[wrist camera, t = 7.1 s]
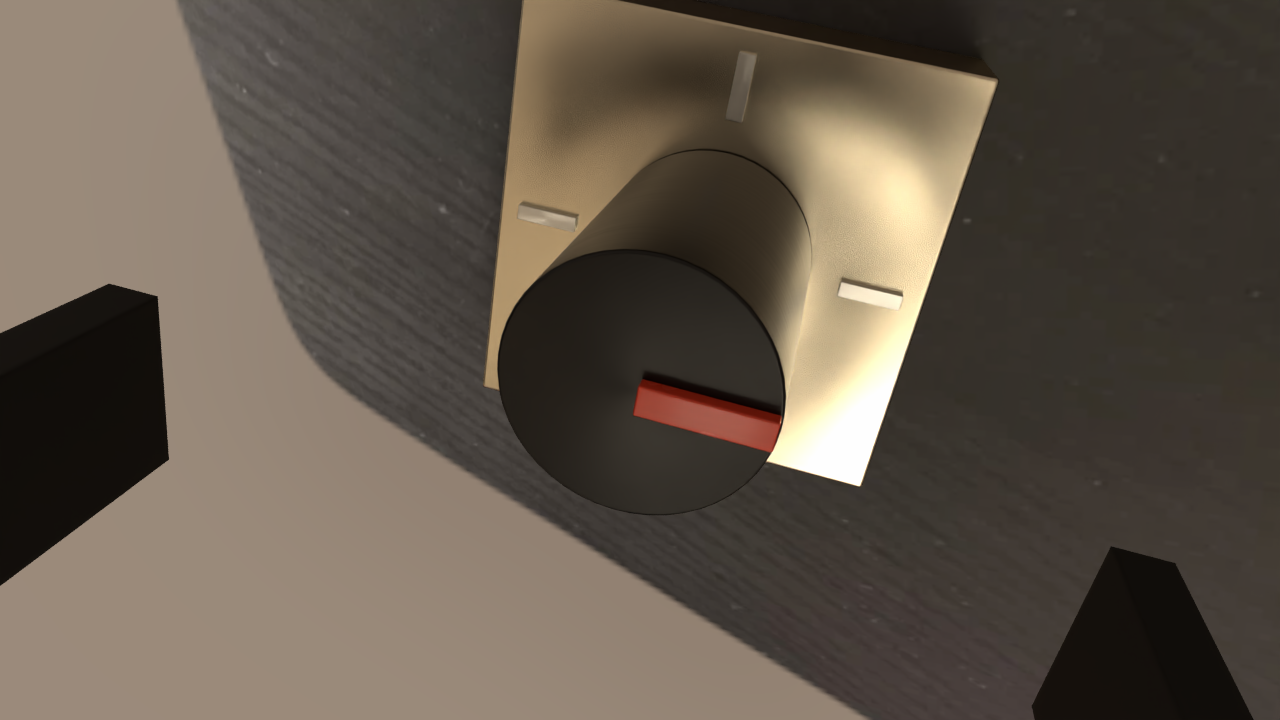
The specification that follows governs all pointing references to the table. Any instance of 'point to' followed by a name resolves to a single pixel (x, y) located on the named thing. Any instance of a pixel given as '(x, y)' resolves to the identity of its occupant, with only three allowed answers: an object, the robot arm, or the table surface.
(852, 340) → the panel
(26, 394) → the robot arm
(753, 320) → the knob
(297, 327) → the table surface
